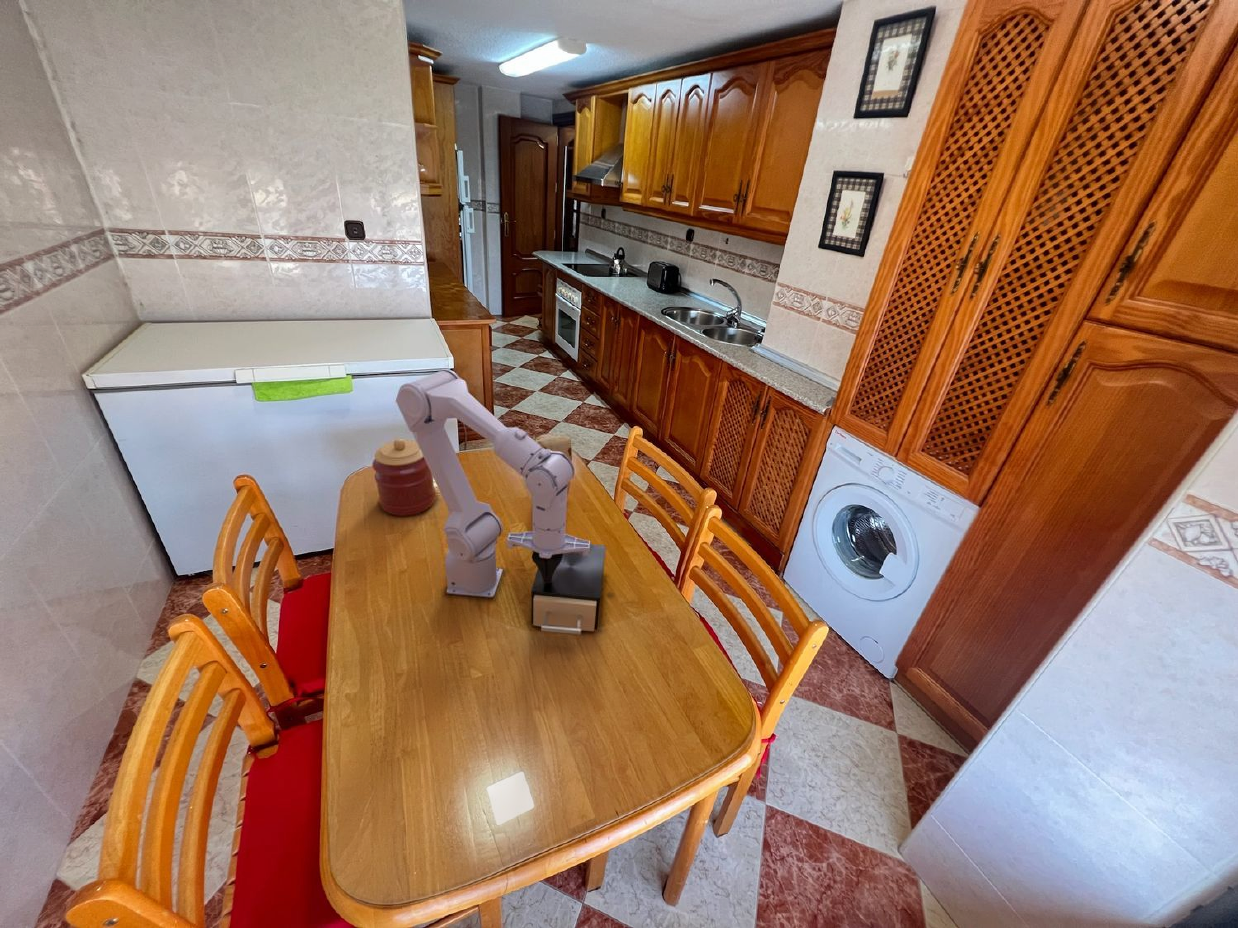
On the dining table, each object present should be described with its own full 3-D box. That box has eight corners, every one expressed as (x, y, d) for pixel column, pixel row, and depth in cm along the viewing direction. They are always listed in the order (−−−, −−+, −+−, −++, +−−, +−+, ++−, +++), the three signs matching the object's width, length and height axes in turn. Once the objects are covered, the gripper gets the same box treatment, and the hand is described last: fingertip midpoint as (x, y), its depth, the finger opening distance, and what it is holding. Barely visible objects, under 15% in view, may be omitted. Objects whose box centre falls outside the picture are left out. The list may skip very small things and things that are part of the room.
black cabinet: (597, 629, 94) (600, 597, 90) (531, 623, 94) (531, 590, 90) (602, 576, 107) (605, 545, 103) (544, 570, 107) (545, 539, 102)
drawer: (591, 650, 89) (593, 624, 86) (528, 644, 89) (528, 618, 86) (599, 580, 104) (601, 555, 101) (545, 575, 104) (546, 550, 101)
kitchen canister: (429, 482, 131) (421, 423, 123) (442, 509, 122) (434, 446, 113) (376, 494, 125) (363, 432, 116) (385, 522, 116) (372, 457, 107)
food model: (534, 513, 124) (534, 443, 114) (530, 498, 129) (529, 430, 119) (572, 509, 127) (575, 440, 117) (567, 494, 132) (569, 427, 122)
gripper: (501, 530, 82) (503, 590, 88) (588, 539, 82) (584, 598, 88) (511, 505, 88) (513, 563, 94) (593, 514, 88) (588, 571, 95)
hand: (548, 578), depth 92 cm, fingers closed
